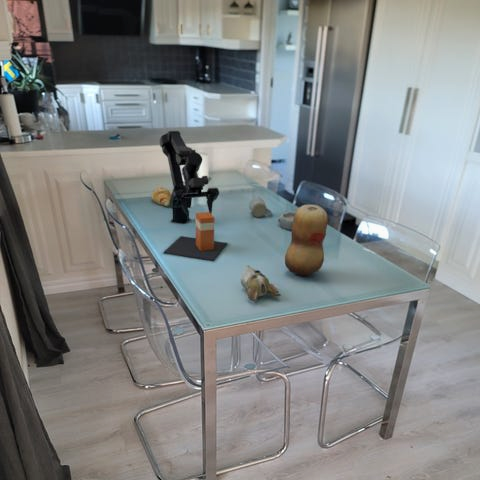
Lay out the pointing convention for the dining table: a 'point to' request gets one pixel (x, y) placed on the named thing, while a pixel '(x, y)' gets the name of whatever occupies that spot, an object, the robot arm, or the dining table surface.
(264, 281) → the ceramic sculpture
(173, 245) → the mat
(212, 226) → the packet
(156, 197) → the croissant
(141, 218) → the dining table surface
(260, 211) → the ceramic mug
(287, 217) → the dish
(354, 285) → the dining table surface
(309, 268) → the butternut squash
